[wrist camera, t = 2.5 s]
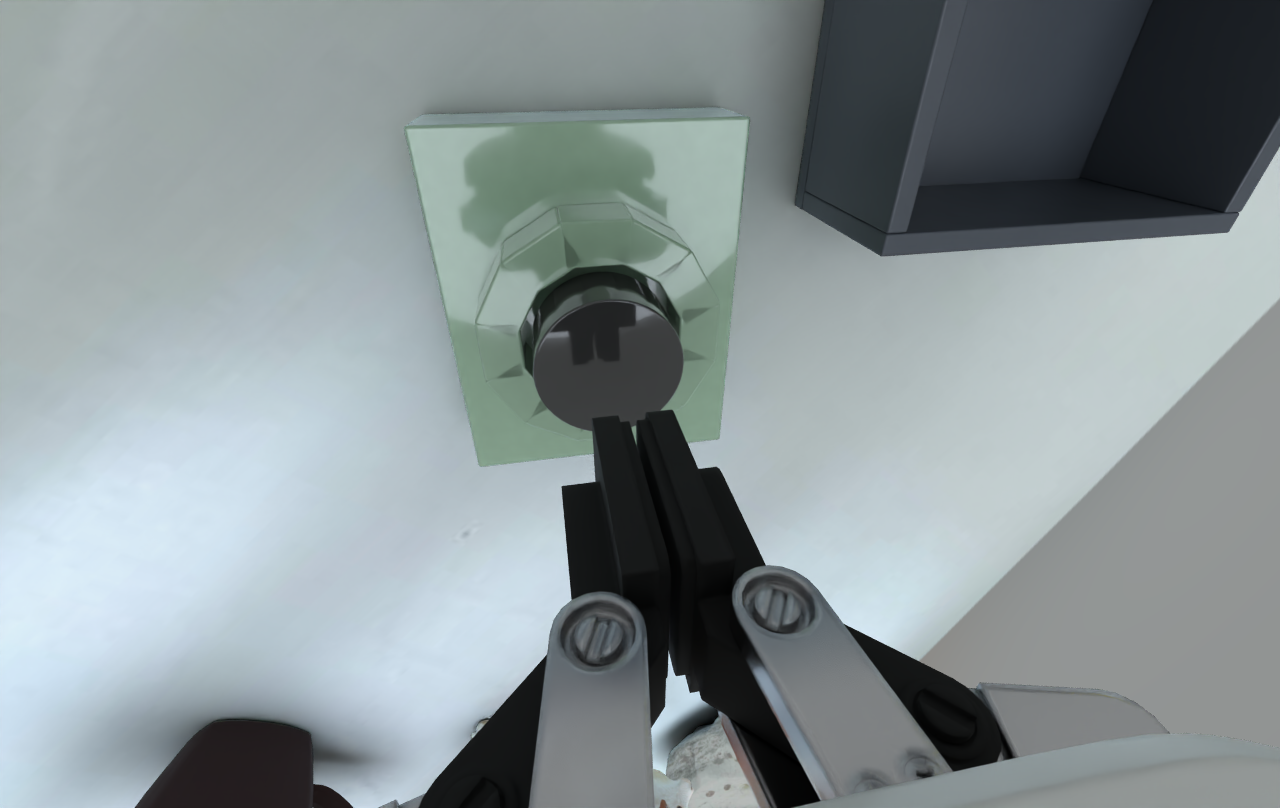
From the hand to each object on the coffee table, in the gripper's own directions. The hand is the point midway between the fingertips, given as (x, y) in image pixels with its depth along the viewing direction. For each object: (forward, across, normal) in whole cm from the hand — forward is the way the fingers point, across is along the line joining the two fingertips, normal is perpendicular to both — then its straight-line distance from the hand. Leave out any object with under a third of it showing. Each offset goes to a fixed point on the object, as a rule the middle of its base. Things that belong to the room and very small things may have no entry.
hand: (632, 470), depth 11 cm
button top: (+6, 0, 0) cm, 6 cm away
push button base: (+10, 0, 0) cm, 10 cm away
